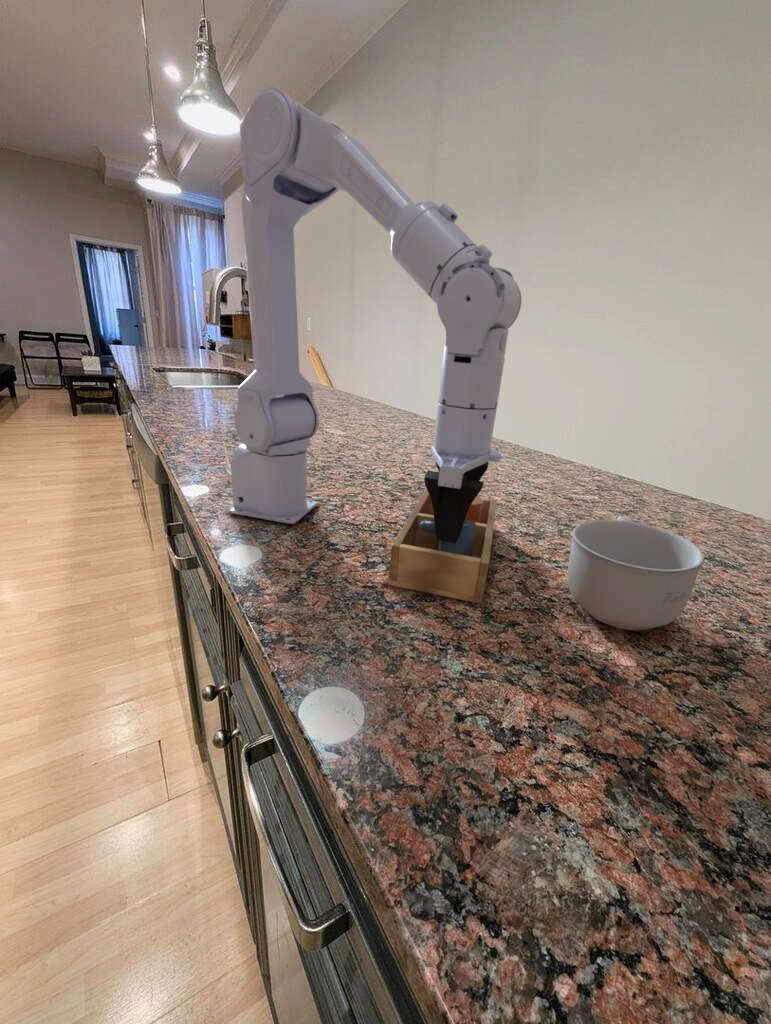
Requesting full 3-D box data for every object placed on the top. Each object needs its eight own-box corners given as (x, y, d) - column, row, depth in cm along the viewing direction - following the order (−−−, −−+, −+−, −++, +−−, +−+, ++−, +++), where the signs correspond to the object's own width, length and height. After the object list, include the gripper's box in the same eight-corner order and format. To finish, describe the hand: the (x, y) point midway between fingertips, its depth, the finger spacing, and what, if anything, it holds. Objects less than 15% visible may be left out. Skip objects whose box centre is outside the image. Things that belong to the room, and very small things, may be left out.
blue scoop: (413, 564, 48) (417, 519, 47) (419, 555, 52) (423, 513, 51) (468, 573, 47) (474, 527, 46) (471, 563, 50) (476, 520, 49)
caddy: (388, 584, 46) (391, 545, 44) (422, 519, 63) (425, 488, 61) (481, 604, 44) (489, 563, 42) (491, 531, 61) (497, 499, 59)
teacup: (675, 663, 38) (707, 582, 35) (545, 616, 43) (563, 541, 40) (676, 592, 49) (701, 525, 46) (573, 561, 54) (589, 499, 51)
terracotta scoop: (428, 535, 56) (432, 498, 54) (433, 524, 59) (437, 489, 57) (476, 544, 55) (482, 506, 53) (478, 532, 58) (484, 496, 56)
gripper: (507, 421, 36) (482, 568, 41) (510, 399, 49) (491, 513, 54) (421, 411, 38) (408, 554, 43) (447, 393, 51) (434, 504, 56)
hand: (450, 530), depth 49 cm, fingers open, 5 cm apart
